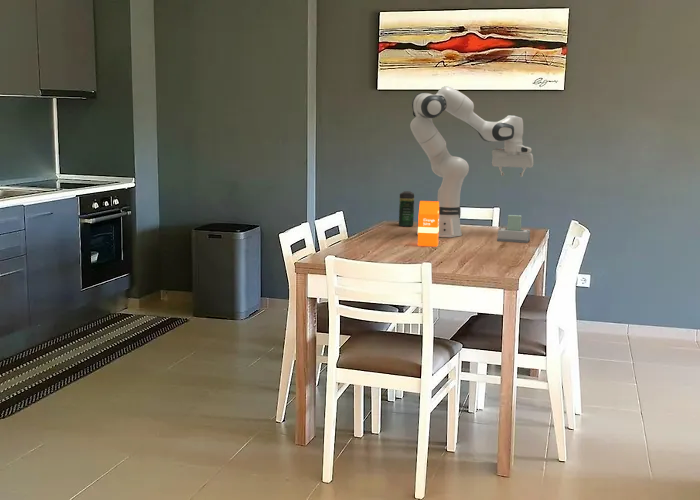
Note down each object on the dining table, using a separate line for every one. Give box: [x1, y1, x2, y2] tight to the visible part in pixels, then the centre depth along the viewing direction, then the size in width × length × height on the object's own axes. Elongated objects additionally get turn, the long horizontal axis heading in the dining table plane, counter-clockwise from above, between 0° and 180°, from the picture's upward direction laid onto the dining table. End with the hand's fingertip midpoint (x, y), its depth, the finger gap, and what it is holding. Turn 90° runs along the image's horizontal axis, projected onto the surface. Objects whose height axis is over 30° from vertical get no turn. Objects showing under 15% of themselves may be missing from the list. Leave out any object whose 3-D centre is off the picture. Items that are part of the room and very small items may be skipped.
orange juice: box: [417, 200, 440, 247], centre depth 351 cm, size 8×9×20 cm
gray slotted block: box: [496, 227, 531, 244], centre depth 368 cm, size 14×10×5 cm
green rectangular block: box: [506, 214, 523, 231], centre depth 367 cm, size 4×6×11 cm, turn 69°
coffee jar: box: [398, 190, 415, 228], centre depth 413 cm, size 10×8×19 cm
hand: (511, 176), depth 385 cm, fingers open, 8 cm apart
